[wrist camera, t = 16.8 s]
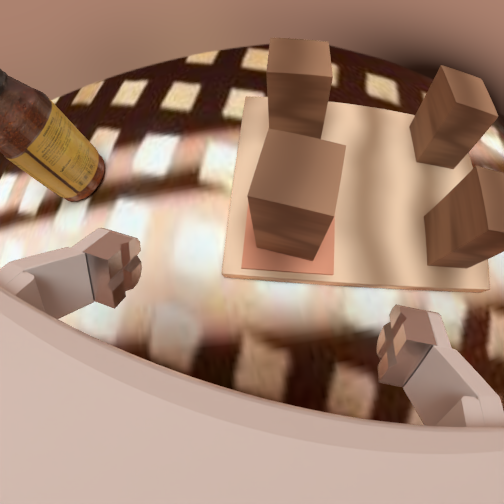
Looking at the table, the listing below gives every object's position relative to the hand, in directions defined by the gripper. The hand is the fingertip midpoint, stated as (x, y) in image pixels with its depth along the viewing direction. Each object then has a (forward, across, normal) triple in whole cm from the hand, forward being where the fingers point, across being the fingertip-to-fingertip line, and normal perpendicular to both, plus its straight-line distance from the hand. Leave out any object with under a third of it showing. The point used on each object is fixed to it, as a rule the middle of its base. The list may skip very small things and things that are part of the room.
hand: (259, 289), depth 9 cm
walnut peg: (+15, 0, +5) cm, 16 cm away
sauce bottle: (+17, +23, +5) cm, 29 cm away
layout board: (+21, -6, +2) cm, 21 cm away
